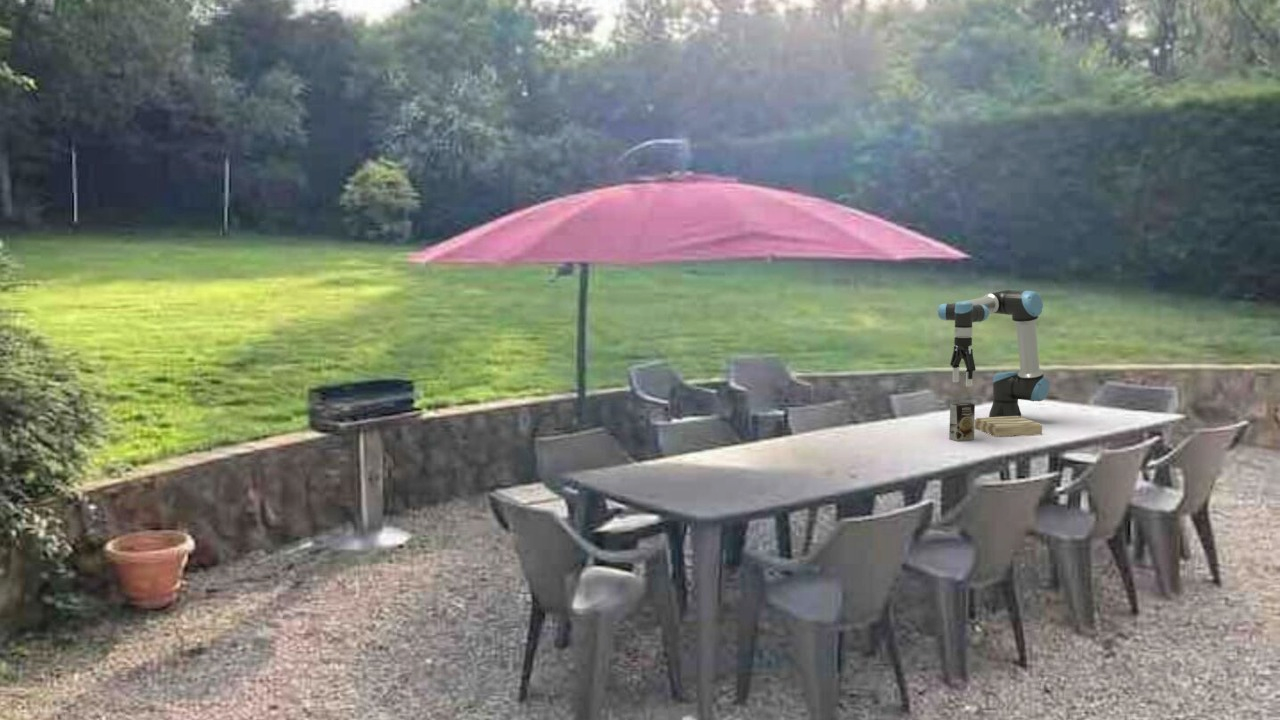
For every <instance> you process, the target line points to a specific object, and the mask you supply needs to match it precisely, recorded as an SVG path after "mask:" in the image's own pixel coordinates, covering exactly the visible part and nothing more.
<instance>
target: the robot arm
mask: <svg viewBox="0 0 1280 720" xmlns="http://www.w3.org/2000/svg"><path fill="white" fill-rule="evenodd" d="M1043 307H1044V305H1043V300H1042V297H1041V295H1040V294H1039V293H1038V292H1036V291H1032V290H1009V289H1005V290H999V291H996V292H991V293H986V294H984V296H982V297H979V298H974V299H973V298H972V299H968V300H963V301H956V302H954V303H942V304H940V305H939V306H938V309H937V315H938V317H939V319H940V320H943V321H954V330H953V332H954V336H955V337H954V339H953V340H954V341H953V342H954V343H953V344H954V345H953V352H952V356H951V360H950V366H951V367H952V383H960V363H961V361H962V360H963V362H964V365H965V368H966V370H965V387H973V381H974V380H973V378H974V377H973V375H974V374H973V373H974V372H975V371H976V365H975V359H974V355H973V353H974V352H973V349H972V348H970V346H972V345H973V338H972V337H973V323H977V322H979V323H981V322H984V321H986V320H987V319H988V318H989V315H992V314H998V315H1009V316H1011V319H1012V322H1014V323H1015V327H1016V335H1017V347H1018V359H1019V368H1020V369H1019V372H1018V371H1005V372H1004V371H1003V372H997V373H995V374H994V375H993V381H992V404H991V408H990V411H989V414H988V417H1006V416H1020V417H1022V412H1021V409H1020V406H1019V400H1021V401H1030V402H1042V401H1043V400H1045V399H1046V398H1047V396H1048V394H1049V392H1050V386H1051V385H1050V381H1049V379H1048V378H1047V377H1044V371H1042V369H1041V368H1040V361H1039V349H1038V339H1037V338H1038V337H1037V327H1036V321H1037V320H1038V319H1039V316H1040V315H1041V314H1042V311H1043Z"/></svg>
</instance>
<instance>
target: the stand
mask: <svg viewBox="0 0 1280 720" xmlns="http://www.w3.org/2000/svg"><path fill="white" fill-rule="evenodd" d="M977 429H978V431H980V430H981V432H982V433H985V432H986V433H985V434H988V433H989V434H988V435H990V434H991V435H990V436H993V435H994V436H993V437H995V436H996V438H999V437H998V436H1006V437H1015V436H1014V435H1025V436H1035V435H1034V434H1042V435H1043V425H1041V423H1040V422H1037V421H1034V420H1031V419H1028V418H1025V417H1022V416H1021V417H1020V416H1006V417H989V416H987V417H975V418H974V430H977Z"/></svg>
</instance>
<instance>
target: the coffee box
mask: <svg viewBox="0 0 1280 720" xmlns="http://www.w3.org/2000/svg"><path fill="white" fill-rule="evenodd" d="M975 409H976V404H975V403H971V402H960V403H959V402H958V403H950V404H949V430H948V431H949V433H948V435H949V436H948V437H949V440H953V441H956V442H962V441H963V442H964V440H965V441H974V440H975V418H976V417H975V412H976V411H975Z"/></svg>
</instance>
